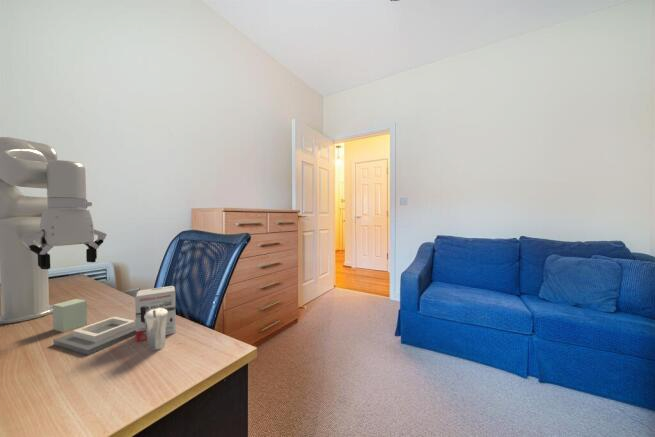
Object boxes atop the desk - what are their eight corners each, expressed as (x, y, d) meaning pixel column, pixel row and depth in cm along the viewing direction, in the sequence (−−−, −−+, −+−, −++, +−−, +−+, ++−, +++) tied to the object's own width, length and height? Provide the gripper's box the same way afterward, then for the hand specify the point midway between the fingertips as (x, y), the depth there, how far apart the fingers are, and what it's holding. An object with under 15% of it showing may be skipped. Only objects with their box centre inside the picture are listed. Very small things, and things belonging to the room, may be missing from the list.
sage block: (53, 329, 67) (52, 304, 67) (76, 322, 72) (76, 298, 72) (63, 332, 66) (62, 306, 66) (86, 324, 70) (86, 300, 70)
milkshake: (142, 356, 54) (141, 312, 54) (147, 345, 58) (146, 304, 58) (166, 351, 56) (165, 308, 56) (169, 340, 61) (168, 301, 60)
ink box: (135, 342, 60) (134, 295, 60) (137, 334, 64) (136, 290, 64) (176, 333, 64) (175, 289, 64) (175, 326, 69) (174, 285, 68)
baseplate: (53, 344, 59) (53, 333, 59) (119, 320, 72) (118, 311, 72) (88, 355, 55) (88, 343, 54) (151, 327, 68) (151, 318, 68)
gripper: (97, 206, 78) (98, 259, 78) (13, 204, 61) (15, 271, 62) (112, 205, 75) (113, 260, 75) (29, 203, 59) (31, 273, 59)
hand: (69, 265), depth 68 cm, fingers open, 9 cm apart
